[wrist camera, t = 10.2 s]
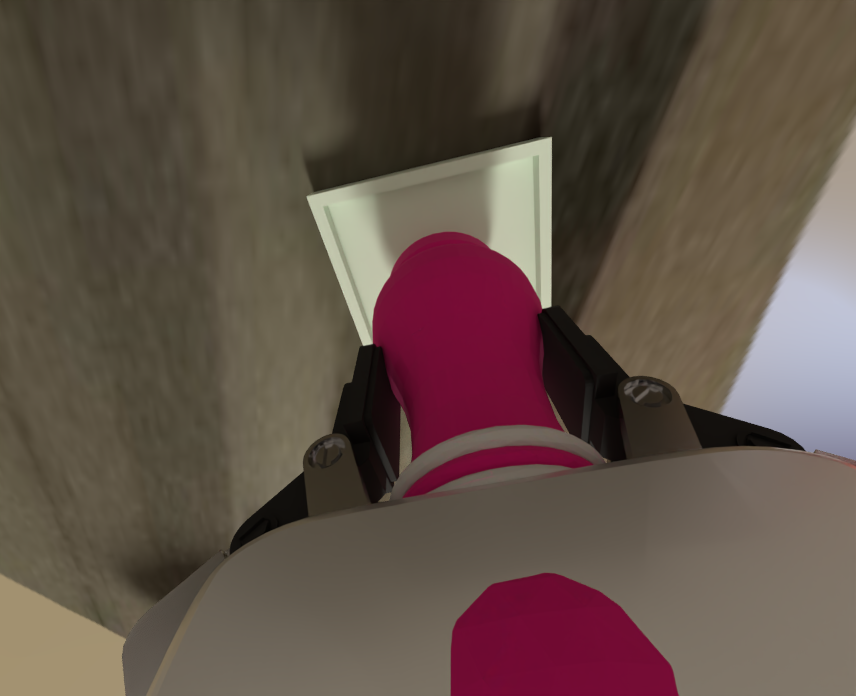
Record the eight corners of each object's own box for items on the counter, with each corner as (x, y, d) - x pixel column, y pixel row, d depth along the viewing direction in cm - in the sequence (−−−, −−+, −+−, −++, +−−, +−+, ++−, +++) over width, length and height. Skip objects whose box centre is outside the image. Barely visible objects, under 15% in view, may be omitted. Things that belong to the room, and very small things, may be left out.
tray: (313, 192, 17) (306, 196, 16) (540, 137, 16) (551, 137, 15) (378, 368, 24) (376, 381, 23) (543, 335, 23) (551, 347, 22)
